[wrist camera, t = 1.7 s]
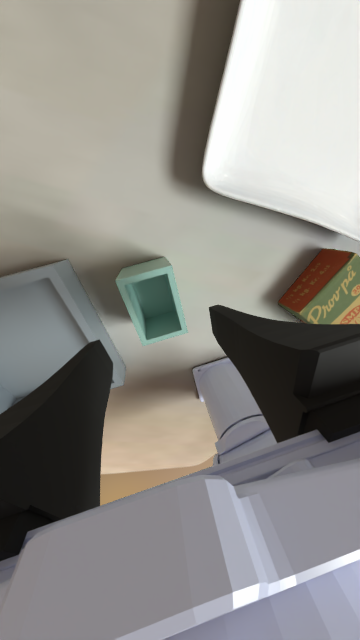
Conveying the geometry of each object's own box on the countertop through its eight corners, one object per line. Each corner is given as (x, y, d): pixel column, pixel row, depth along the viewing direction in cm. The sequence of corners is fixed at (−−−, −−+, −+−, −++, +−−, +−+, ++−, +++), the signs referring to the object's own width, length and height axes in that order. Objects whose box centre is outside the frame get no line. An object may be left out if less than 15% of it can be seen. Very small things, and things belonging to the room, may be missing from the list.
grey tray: (67, 259, 16) (52, 264, 13) (126, 367, 23) (123, 385, 20) (-96, 301, 15) (-146, 316, 12) (18, 400, 22) (1, 423, 20)
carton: (328, 342, 29) (355, 359, 26) (273, 302, 23) (298, 315, 20) (370, 304, 27) (406, 316, 23) (321, 246, 21) (360, 250, 17)
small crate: (164, 256, 17) (171, 265, 13) (178, 311, 21) (188, 332, 16) (122, 268, 17) (115, 280, 13) (143, 321, 20) (142, 346, 16)
